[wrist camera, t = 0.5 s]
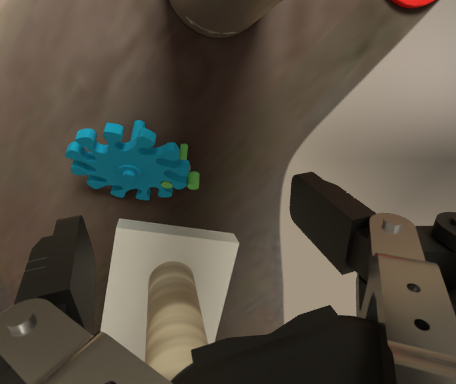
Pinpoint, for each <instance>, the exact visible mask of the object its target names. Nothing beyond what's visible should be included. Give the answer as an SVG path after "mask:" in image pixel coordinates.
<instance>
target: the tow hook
mask: <svg viewBox="0 0 456 384" xmlns="http://www.w3.org/2000/svg"><path fill="white" fill-rule="evenodd" d="M391 1H392V2H394V3H395V4H397V5H399V6H401V7H406V8H417V7H422V6H424V5H427V4H429V3H431V2H433V1H435V0H391Z"/></svg>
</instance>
